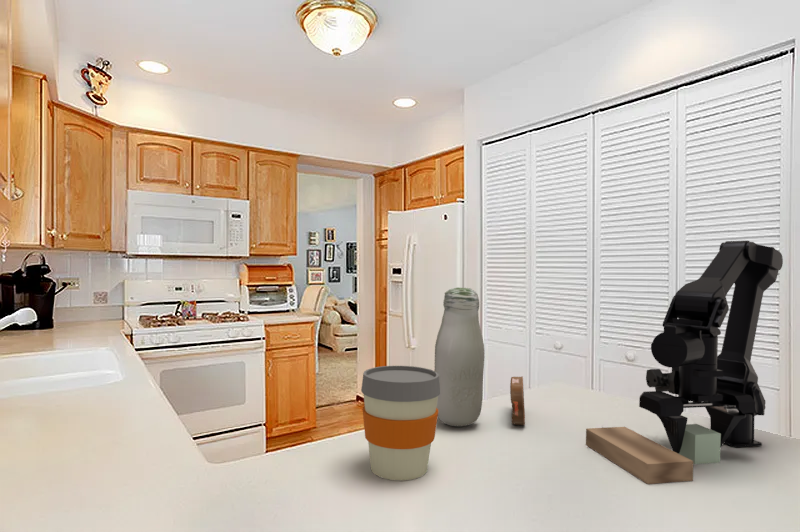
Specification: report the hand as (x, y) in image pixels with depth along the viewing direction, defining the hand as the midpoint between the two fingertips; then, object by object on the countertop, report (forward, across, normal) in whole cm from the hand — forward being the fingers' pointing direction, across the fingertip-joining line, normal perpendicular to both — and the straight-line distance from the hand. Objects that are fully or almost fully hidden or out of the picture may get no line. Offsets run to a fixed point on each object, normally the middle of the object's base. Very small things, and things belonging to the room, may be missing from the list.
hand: (695, 451), depth 83 cm
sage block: (+1, 0, 0) cm, 1 cm away
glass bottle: (+1, +36, -22) cm, 42 cm away
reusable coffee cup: (+1, +52, -3) cm, 52 cm away
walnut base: (+1, +12, 0) cm, 12 cm away
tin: (+1, +22, -24) cm, 33 cm away
